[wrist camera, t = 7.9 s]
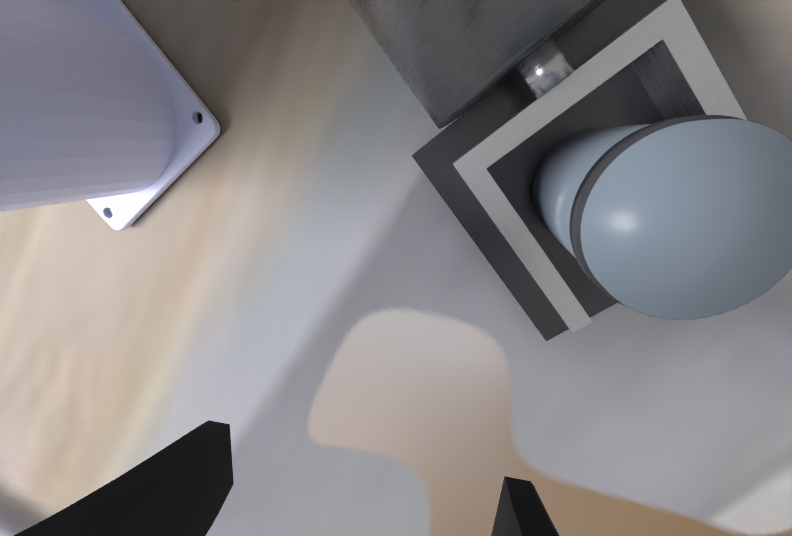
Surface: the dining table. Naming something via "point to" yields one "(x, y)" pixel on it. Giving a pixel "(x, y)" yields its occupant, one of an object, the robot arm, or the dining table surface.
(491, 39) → the motor
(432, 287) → the dining table surface
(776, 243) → the banded grey cylinder
